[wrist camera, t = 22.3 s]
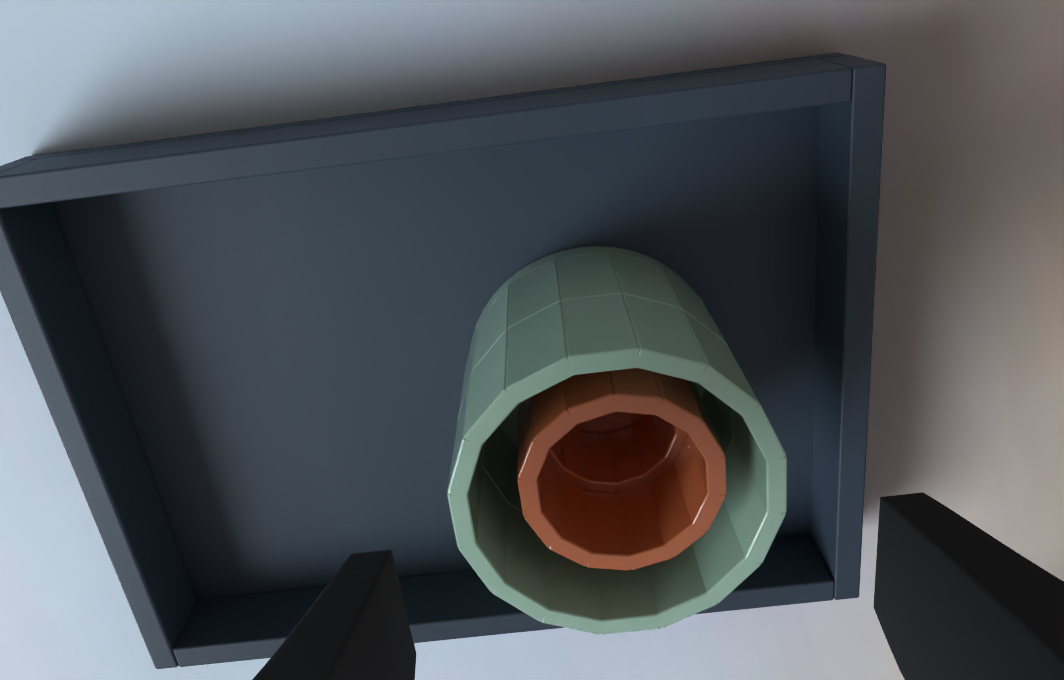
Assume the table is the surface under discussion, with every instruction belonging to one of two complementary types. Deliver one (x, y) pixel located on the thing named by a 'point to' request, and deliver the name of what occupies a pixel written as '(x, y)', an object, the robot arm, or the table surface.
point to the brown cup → (619, 467)
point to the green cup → (588, 347)
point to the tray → (425, 324)
